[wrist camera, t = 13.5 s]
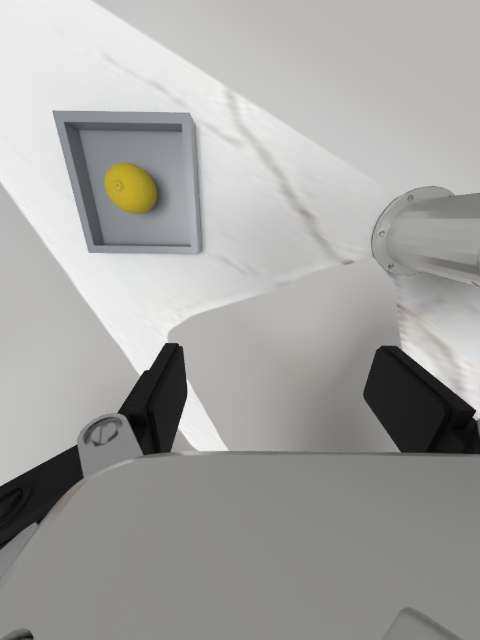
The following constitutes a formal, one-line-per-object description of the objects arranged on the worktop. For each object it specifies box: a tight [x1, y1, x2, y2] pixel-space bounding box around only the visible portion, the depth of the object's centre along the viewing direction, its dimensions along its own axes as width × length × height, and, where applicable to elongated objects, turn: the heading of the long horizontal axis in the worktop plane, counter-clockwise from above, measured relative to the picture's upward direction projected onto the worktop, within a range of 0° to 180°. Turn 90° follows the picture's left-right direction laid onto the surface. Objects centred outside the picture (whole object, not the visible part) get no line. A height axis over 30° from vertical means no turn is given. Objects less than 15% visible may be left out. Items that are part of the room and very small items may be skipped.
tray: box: [53, 111, 202, 254], centre depth 31 cm, size 16×16×4 cm
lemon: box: [104, 163, 157, 214], centre depth 28 cm, size 6×6×8 cm
